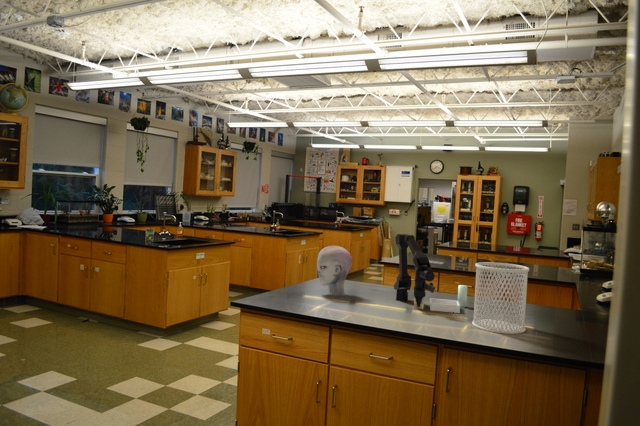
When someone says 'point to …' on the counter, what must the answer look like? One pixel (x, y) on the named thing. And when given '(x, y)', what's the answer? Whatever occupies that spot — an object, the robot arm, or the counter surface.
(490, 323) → the wastebasket
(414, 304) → the cube
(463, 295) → the canister
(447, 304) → the tote
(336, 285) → the sculpture
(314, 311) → the counter surface
